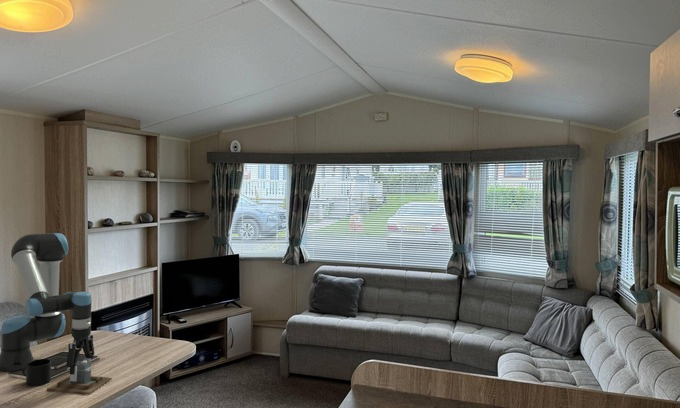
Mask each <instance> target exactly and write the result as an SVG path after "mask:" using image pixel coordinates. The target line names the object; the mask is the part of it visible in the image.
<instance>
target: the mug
mask: <svg viewBox="0 0 680 408" xmlns="http://www.w3.org/2000/svg"><path fill="white" fill-rule="evenodd" d="M21 370H22V371H21V373H22V375H23V376H24V377H25V379H26V380H25V381H26V382H25V385H26V386H29V387H40V386H43V385H47V384H49V382H51V380H52V378H51V376H52V375H51V374H52V360H51V359H49V358H39V359H34V360H33V361H30V362H28V363H27V365H26V367H25V368H23V369H21ZM25 371H26V372H25Z"/></svg>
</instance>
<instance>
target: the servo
mask: <svg viewBox="0 0 680 408" xmlns="http://www.w3.org/2000/svg"><path fill="white" fill-rule="evenodd" d="M76 366H77V381H70V383H79V384H87V383H89V382H90V381H91V376H92V370H93V369H94V368H95V366H94V365H92V361H91V362H88V361H86V360H84V359H83V360H77V363H76ZM66 370H67V371H70V367H66Z"/></svg>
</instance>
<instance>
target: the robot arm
mask: <svg viewBox="0 0 680 408" xmlns="http://www.w3.org/2000/svg"><path fill="white" fill-rule="evenodd" d="M68 254H69V242H68V240H67V238H66V236H65V235H64V234H63V233H60V232H57V233H55V232H52V233H51V232H50V233H49V232H48V233H35V234H34V233H32V234H31V233H30V234H24V235H22V236H20V238H18V239H17V240H16V241H15V242H14V244H12V247H11V251H10V257H11V261H12V263H13V264H14V265H16V267H17V269H18V272H19V276H20V278H21V280H22V283H23V286H24V289H25V292H26V295H27V297H28V298H27V300H26V301H25V307H24V308H25V313H26V315H19V316H14V317H10V318H8V319H6V320H5V321H3V322H2V324H1V330H0V333H1V337H0V338H1V342H0V344H1V345H0V348H1V349H0V372H13V371H15V372H16V371H20V369H21V370H23V368H25V367H26V365H27V363H28V362H30V361H33V360H35V358H34V356H33V353H32V350H31V343H33V342H38V341H43V340H49V339H53V338H58V337H60V336H62V334H63V333H64V331H65V328H66V316H65V314H64V313H62V312H68V311H71V337H72V338H73V341H72V343H68V346H67V347H68V350H67V358H66V363H65V367H66V368H69V367H70V370H69V375H70V381H77V366H76V363H77V361H79V360H78V359H79V355H80V352H81V351H83V354H84V359H83V361H84V360H86V361H88V362H91V363H92V359H93V358H94V355H95V346H94V335H92V334H91V333H92V329H91V328H92V327H91V326H92V325H91V324H92V302H93V300H92V293H91V292H89V291H77V292H75V291H74V292H73V291H67V292H65V293H63V294H59V293H60V292H59V291H60V268H61V267H60V264H61V262H63V261H64V256H68ZM38 263H39V265H38Z"/></svg>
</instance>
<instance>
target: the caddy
mask: <svg viewBox="0 0 680 408" xmlns="http://www.w3.org/2000/svg"><path fill="white" fill-rule="evenodd" d="M110 380H111V381H112V377H109V376H107V377H106V376H98V375H97V376H96V375H91V381H90V382H89V383H87V384H79V383H70V374H69V375H68V376H66V377H64V378H63V379H61V380H59V381H58V382H55V383H54V384H52V385H50V386H49V387H47V388H46V391H47V392H55V393H66V394H78V395H86V394H90V395H92V394H93V393H94V392H96V391H98V390H99V389H101V388H102V387H103V386H105V385H106V384H107V382H108V383H109V382H111V381H110ZM104 384H105V385H104ZM101 386H102V387H101ZM98 388H99V389H98ZM95 390H96V391H95ZM91 393H92V394H91Z"/></svg>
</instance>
